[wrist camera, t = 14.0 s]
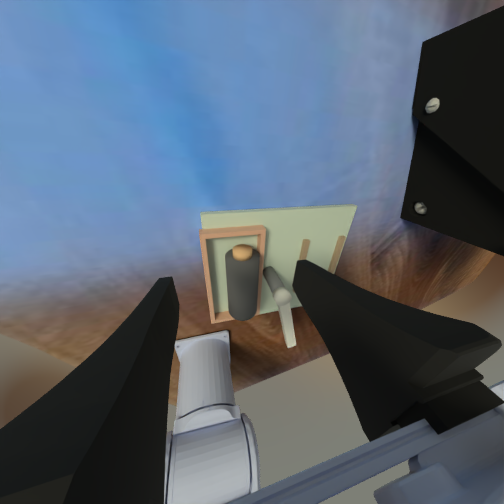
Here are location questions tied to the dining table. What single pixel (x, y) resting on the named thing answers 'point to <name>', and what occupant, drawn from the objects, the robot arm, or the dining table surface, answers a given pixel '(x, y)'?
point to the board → (271, 248)
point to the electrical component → (460, 135)
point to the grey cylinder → (242, 281)
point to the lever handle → (285, 314)
